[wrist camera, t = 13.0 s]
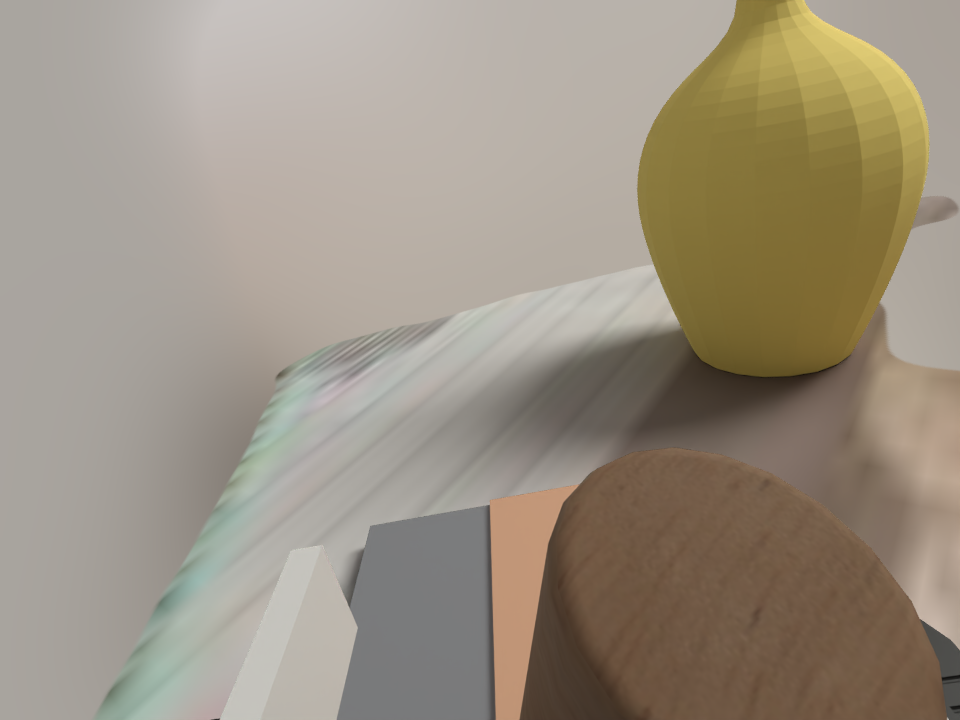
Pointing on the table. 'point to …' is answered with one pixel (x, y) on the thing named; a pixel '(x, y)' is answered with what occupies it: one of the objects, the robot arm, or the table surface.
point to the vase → (782, 191)
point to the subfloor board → (449, 612)
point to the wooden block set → (718, 604)
